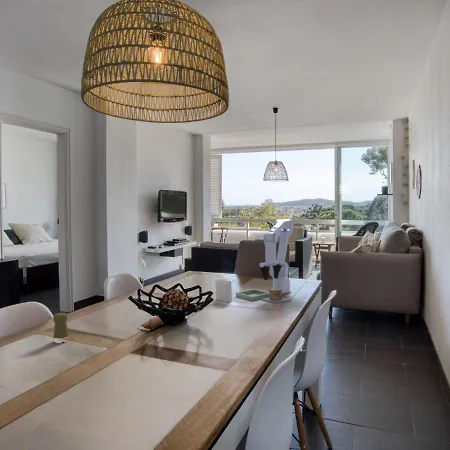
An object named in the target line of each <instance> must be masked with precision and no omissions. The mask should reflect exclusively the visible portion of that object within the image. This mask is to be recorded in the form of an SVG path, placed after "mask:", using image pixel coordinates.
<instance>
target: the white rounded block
mask: <svg viewBox="0 0 450 450" xmlns="http://www.w3.org/2000/svg"><path fill="white" fill-rule="evenodd" d="M232 290H233V289H232V281H231V280H230V279H228V278H225V277H218V278H216V280H215V299H216V300H217V301H221V302H225V303H231V302H232V300H233V296H232V295H233V294H232V293H233V292H232Z"/></svg>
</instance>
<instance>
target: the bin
mask: <svg viewBox="0 0 450 450" xmlns="http://www.w3.org/2000/svg"><path fill="white" fill-rule="evenodd" d="M235 297H237V298H241V299H243V300H248V301H252V302H254V301H258V300H262V299H264V298H268V297H270V291H266V290H261V289H257V288H252V289H247V290H242V291H236V292H235Z"/></svg>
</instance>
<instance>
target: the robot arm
mask: <svg viewBox="0 0 450 450" xmlns="http://www.w3.org/2000/svg"><path fill="white" fill-rule="evenodd" d="M293 231H294V220H293V219H292V218H290V219H289V218H288V219H284V218H283V219H282V218H281V219H279V218H277V219H276V220H275V221H274V225H273V226H271V228H270V229H269V231H267V232H265V233H264V234H263V243H264V248H265V255H264V256H265V262H260V263H259V269H260V271H261V273H262V277H263V281H268V279H269V274H270V276H271V278H272V289H274V288H276V289H280V290H282V295H284V294H286V293H287V294H288V293H291V288H290V287H291V285H290V278H289V277H288V276H289V273H290V272H289V269H290V267H289V264H288V263H287V262H286V256H287V249H288V245H289V239H290V236H291V235H293ZM279 236H280V237H279ZM279 238H280V239H279ZM278 239H279V243H278V249H277V242H278Z"/></svg>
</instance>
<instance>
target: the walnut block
mask: <svg viewBox="0 0 450 450" xmlns="http://www.w3.org/2000/svg"><path fill="white" fill-rule="evenodd" d="M269 292H270V299H273V300H280V299H282V297H283V296H282V295H283V294H282V290H280V289H276V288H274V289H273V288H270V289H269Z"/></svg>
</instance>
